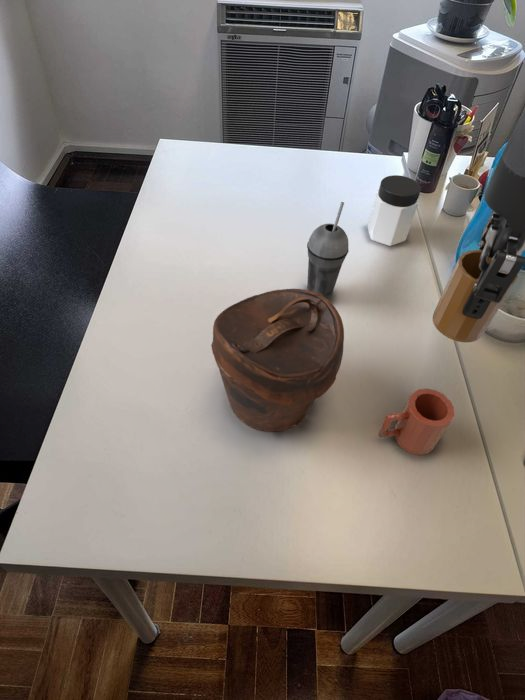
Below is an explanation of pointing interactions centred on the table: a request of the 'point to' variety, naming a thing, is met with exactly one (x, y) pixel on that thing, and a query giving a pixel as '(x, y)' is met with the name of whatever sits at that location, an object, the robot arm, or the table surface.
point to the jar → (393, 210)
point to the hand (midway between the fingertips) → (473, 295)
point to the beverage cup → (326, 256)
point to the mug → (420, 421)
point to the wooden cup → (463, 302)
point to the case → (277, 355)
